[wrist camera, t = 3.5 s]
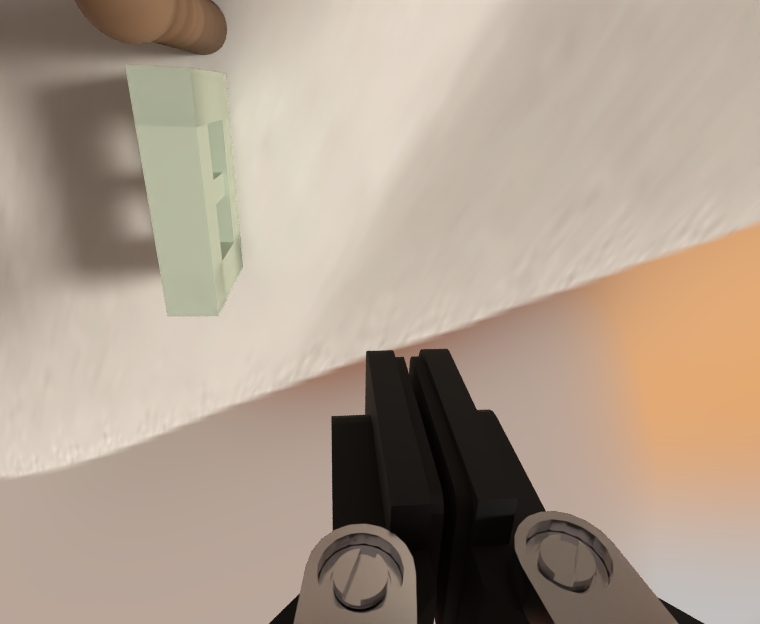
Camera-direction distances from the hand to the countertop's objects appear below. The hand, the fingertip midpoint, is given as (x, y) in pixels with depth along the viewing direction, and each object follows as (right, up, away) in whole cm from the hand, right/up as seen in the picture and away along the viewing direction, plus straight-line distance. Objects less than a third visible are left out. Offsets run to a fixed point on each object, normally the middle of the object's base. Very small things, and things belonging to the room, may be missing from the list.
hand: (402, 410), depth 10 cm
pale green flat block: (-8, +9, +13) cm, 17 cm away
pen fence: (-6, +19, +9) cm, 21 cm away
